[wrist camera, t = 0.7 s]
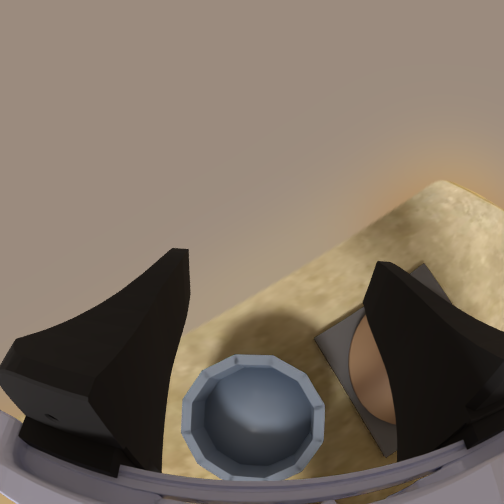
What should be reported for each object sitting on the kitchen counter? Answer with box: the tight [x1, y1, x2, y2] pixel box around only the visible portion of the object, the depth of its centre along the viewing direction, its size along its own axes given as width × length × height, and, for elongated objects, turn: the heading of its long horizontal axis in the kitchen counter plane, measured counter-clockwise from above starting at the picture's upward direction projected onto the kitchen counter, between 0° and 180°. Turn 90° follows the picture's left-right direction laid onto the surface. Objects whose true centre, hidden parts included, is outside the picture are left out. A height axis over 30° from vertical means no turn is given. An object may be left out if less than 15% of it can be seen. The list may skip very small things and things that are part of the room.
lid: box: [348, 315, 396, 424], centre depth 20 cm, size 13×13×5 cm
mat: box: [314, 263, 452, 457], centre depth 23 cm, size 14×14×1 cm
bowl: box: [181, 354, 325, 481], centre depth 21 cm, size 11×11×4 cm
